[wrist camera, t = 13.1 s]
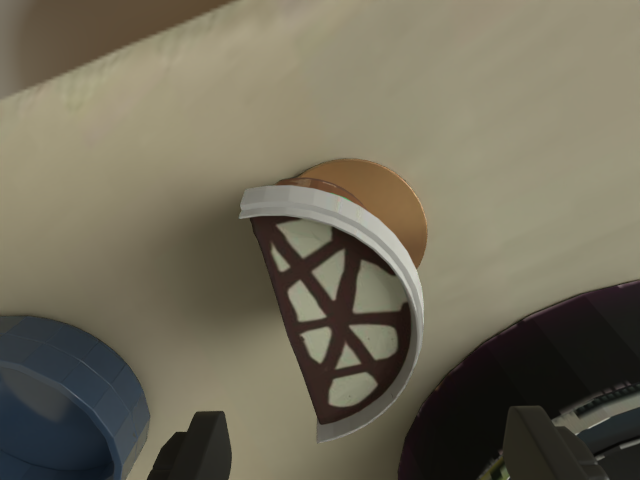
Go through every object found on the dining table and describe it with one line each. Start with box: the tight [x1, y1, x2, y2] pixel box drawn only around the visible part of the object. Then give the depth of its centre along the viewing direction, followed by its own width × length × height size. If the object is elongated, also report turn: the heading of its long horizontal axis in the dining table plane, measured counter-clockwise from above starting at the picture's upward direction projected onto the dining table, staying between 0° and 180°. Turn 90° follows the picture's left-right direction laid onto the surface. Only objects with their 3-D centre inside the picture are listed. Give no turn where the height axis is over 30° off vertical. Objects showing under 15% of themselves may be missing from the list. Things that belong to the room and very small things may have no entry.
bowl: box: [0, 316, 150, 480], centre depth 29 cm, size 16×16×5 cm
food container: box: [239, 177, 424, 443], centre depth 21 cm, size 12×6×10 cm, turn 15°
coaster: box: [297, 159, 427, 270], centre depth 25 cm, size 10×10×1 cm
